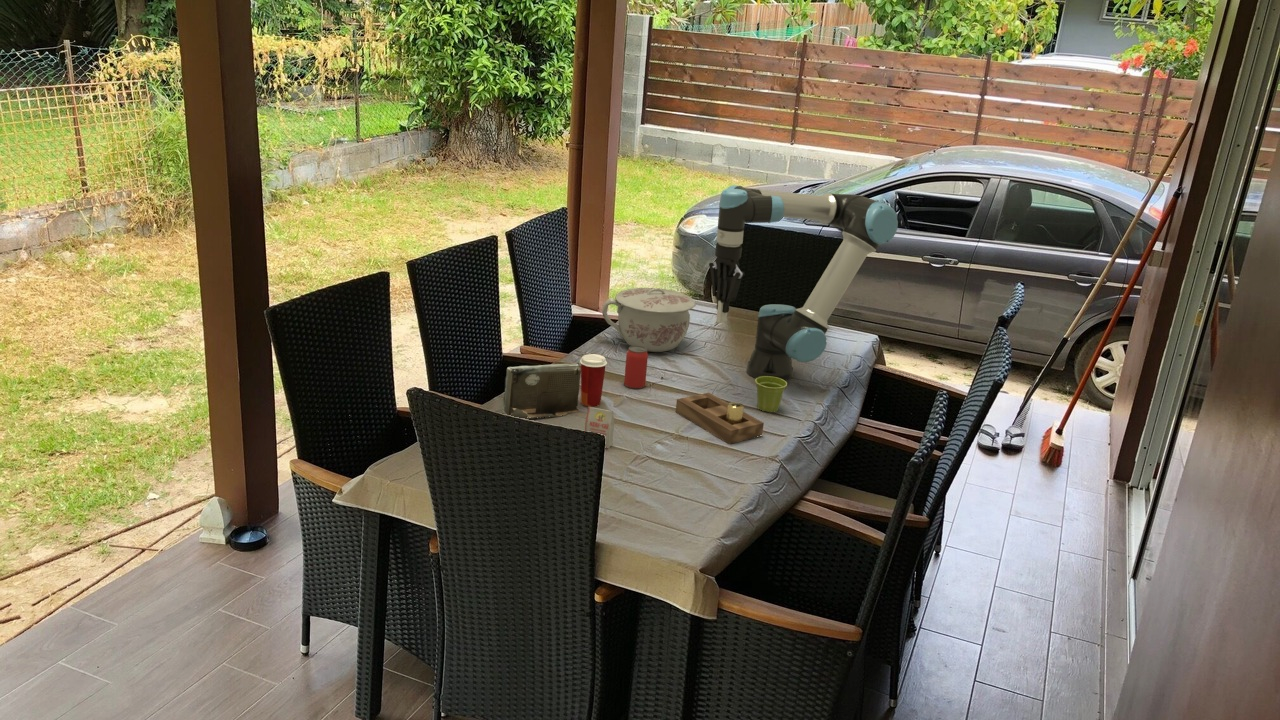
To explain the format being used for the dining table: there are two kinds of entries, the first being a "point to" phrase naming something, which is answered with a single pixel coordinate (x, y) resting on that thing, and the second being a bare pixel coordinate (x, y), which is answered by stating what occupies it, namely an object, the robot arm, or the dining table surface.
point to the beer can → (636, 367)
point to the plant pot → (769, 392)
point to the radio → (541, 390)
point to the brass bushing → (734, 413)
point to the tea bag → (600, 423)
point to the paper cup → (592, 379)
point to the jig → (717, 418)
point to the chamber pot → (651, 317)
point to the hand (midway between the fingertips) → (721, 321)
